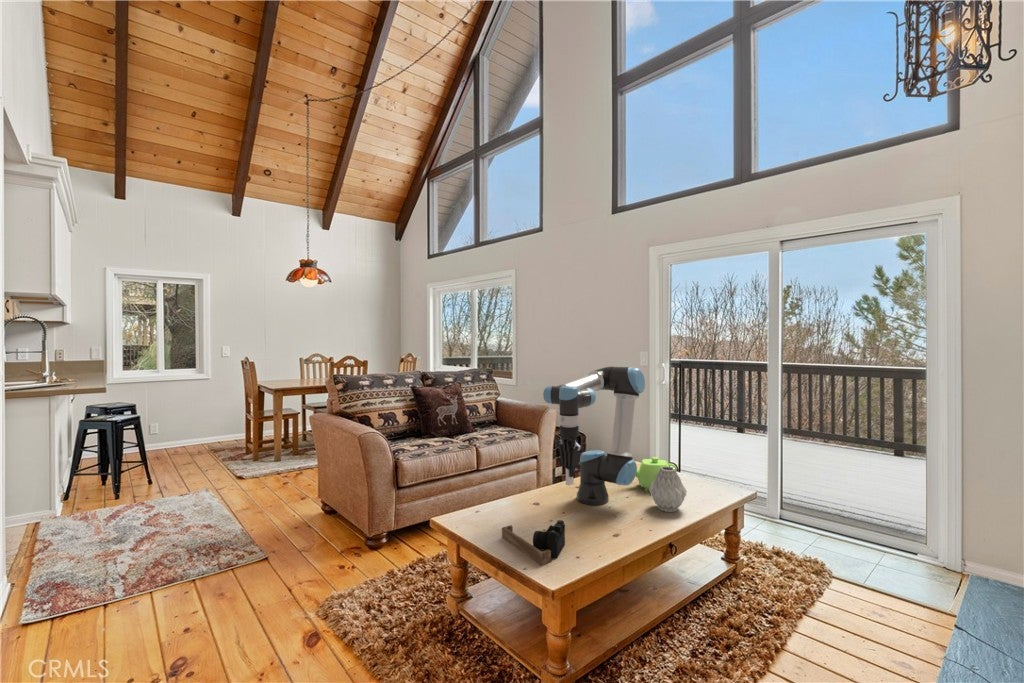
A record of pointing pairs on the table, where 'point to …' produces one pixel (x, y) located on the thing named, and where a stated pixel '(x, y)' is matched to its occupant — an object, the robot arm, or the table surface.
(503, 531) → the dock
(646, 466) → the teapot
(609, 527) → the table surface
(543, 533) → the camera
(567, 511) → the table surface
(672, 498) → the vase
